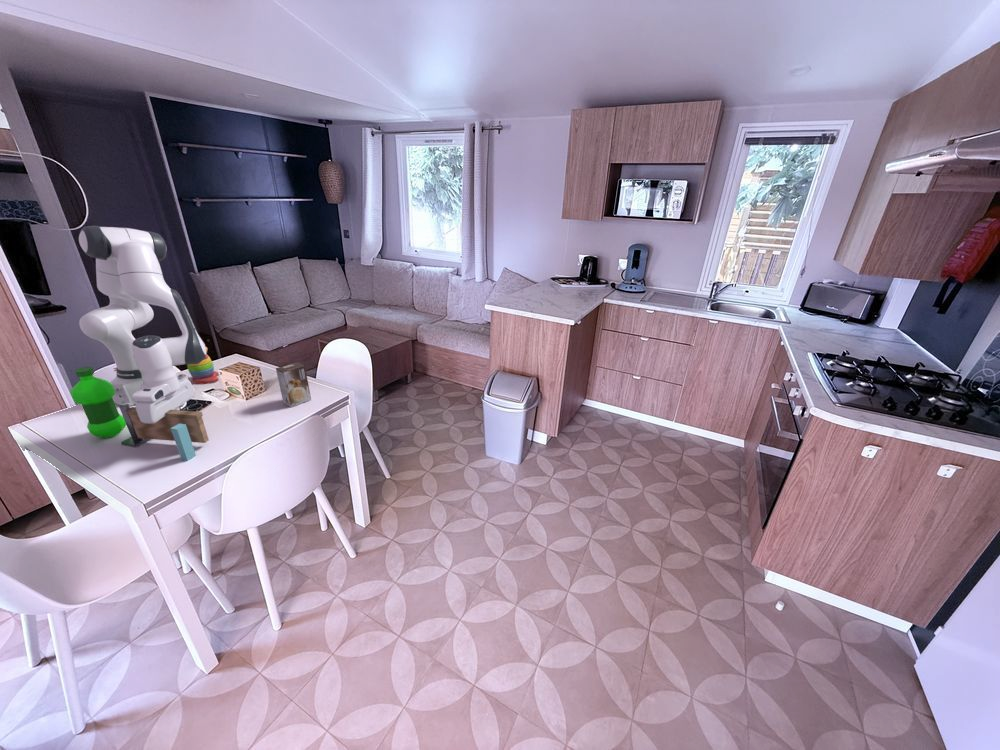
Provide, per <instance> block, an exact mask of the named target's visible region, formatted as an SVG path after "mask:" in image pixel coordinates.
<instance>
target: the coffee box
mask: <svg viewBox="0 0 1000 750" xmlns="http://www.w3.org/2000/svg"><path fill="white" fill-rule="evenodd" d="M275 370H276V375H277V381H278V384H279V389H280V392H281V394H280V395H281V398H282V403H283V404H285V406H288V407H289V408H294V407H297V406H299V405H302V404H304V403H306V402H309V400H310V401H312V396H311V391H310V386H309V380H308V375H307V370H306V366H305V365H304V364H302V363H300V362H298V361H297V362H293V363H292V362H291V363H290V364H286V365H282V366H279V367H276V368H275ZM301 403H302V404H301ZM293 406H294V407H293Z"/></svg>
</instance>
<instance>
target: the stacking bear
mask: <svg viewBox="0 0 1000 750" xmlns="http://www.w3.org/2000/svg"><path fill="white" fill-rule="evenodd" d="M205 347H206V351H207V352H208V349H209V348H208V347H207V346H206V345H205ZM206 355H207V356H206V357H205V358H204V359H203V360H202V361H201V362H200V363H198V364H186V366H187V371H188V373H189V374H190V375H191V377H192V378H191V380H192V383H193V384H198V385H206V384H212V383H213V384H214V383H216V382H219V375H220V373H219V372H218V371H214V370H215V367H214V362H213V361H212V359H211V357H210V356H209V355H208V354H207V353H206Z"/></svg>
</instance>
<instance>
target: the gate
mask: <svg viewBox="0 0 1000 750" xmlns="http://www.w3.org/2000/svg"><path fill="white" fill-rule="evenodd" d="M126 413H127V414H129V416H130V419H131V421H132V424H133V426H134V429H135V432H136V434H137V437H138V438H143V439H151V440H155V441H156V440H157V441H158V440H159V441H173V442H175V439H174V436H173V434H172V431H171V428H172V427H174V426H176V425H178V424H179V423H180V424H186V427H187V430H188V433H189V436H190V439H191V442H192V443H198V444H206V443H207V442H208V441H209V436H208V433H207V430H206V426H205V424H204V419H203V417H202V416H204V414H203V411H193V410H169V411H168V412H166V413H165V417H163V418H162V419H160V420H159V421H157V422H156V423H154V424H145V423H143V422H141V421H140V419H139V416H138V414H137V411H136V406H130V408H129V409H127V410H126Z"/></svg>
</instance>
